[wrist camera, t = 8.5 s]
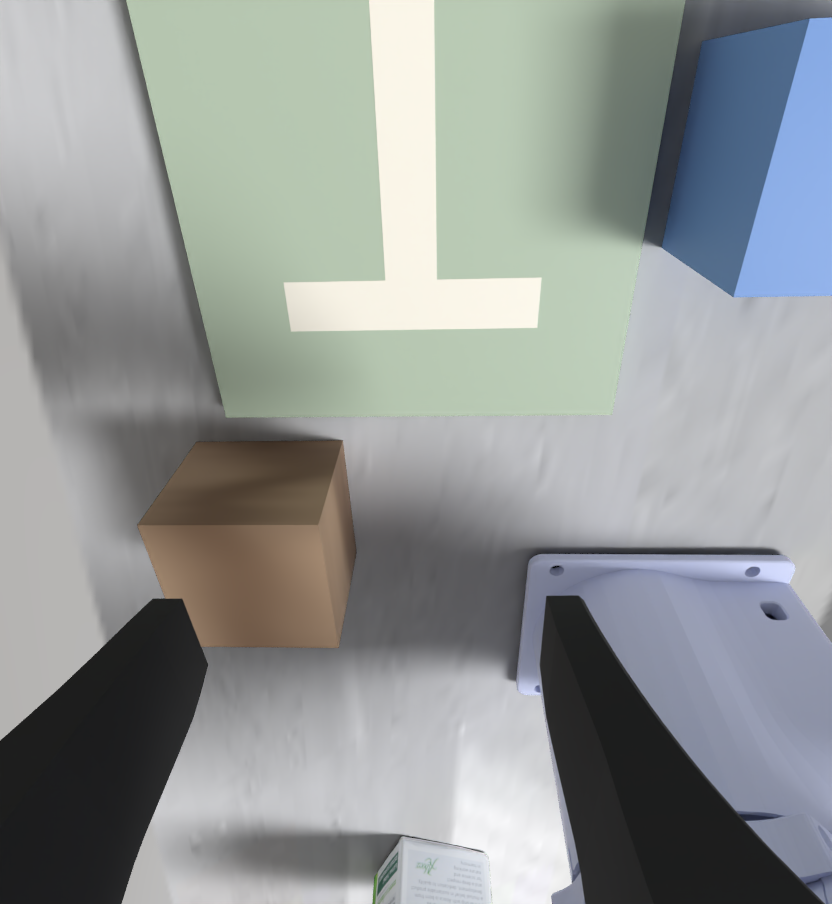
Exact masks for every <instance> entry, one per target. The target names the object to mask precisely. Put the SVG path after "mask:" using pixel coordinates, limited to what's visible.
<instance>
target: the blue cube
mask: <svg viewBox="0 0 832 904" xmlns="http://www.w3.org/2000/svg"><path fill="white" fill-rule="evenodd" d="M662 248H663V249H664V250H666V251H667V252H669V253H670V254H672V255H673V256H674V257H676V258H677V259H679V260H680V261H682V262H683V263H685V264H686V265H687V266H689V267H690V268H692V269H693V270H695V271H696V272H698V273H699V274H701V275H702V276H703V277H705V278H706V279H708V280H709V281H711V282H712V283H714V284H715V285H717V286H718V287H719V288H721V289H722V290H724V291H725V292H727V293H728V294H730V295H731V296H732V297H778V296H832V18H810V19H805V20H800V21H796V22H791V23H786V24H782V25H777V26H772V27H767V28H763V29H758V30H753V31H749V32H744V33H739V34H734V35H730V36H725V37H720V38H716V39H711V40H706V41H702V45H701V50H700V55H699V61H698V66H697V71H696V76H695V81H694V86H693V91H692V96H691V101H690V106H689V111H688V116H687V122H686V127H685V132H684V137H683V142H682V147H681V152H680V157H679V162H678V167H677V172H676V177H675V183H674V188H673V193H672V198H671V203H670V208H669V213H668V218H667V223H666V228H665V233H664V238H663V244H662Z"/></svg>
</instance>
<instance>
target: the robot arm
mask: <svg viewBox="0 0 832 904" xmlns="http://www.w3.org/2000/svg"><path fill="white" fill-rule="evenodd" d="M556 565H559V566H560V567H558V568H552V567H553V566H556ZM750 567H752V568H750ZM748 568H750V569H748ZM794 572H795V566H794V564H793V562H792V561H791V560H790V558H788V557H787V556H783V555H663V554H539V555H536V556H534V557H532V558H531V559H530V560H529V563H528V571H527V581H526V590H525V600H524V610H523V619H522V629H521V639H520V648H519V658H518V668H517V677H516V685H517V690H518V691H519V692H520V693H522V694H524V695H541V697H542V703H543V709H544V716H545V722H546V728H547V734H548V740H549V746H550V752H551V758H552V764H553V770H554V776H555V782H556V789H557V795H558V801H559V807H560V813H561V819H562V825H563V831H564V837H565V843H566V849H567V855H568V861H569V868H570V874H571V880H572V884H571V885H569V886H568V887H566V888H564V889H563V890H560V891H558V892H555V893H553V894H552V896H551V899H552V904H832V643H831V642H830V640H829V639H828V638H827V636H826V635H825V633H824V632H823V631H822V629H821V628H820V626H819V625H818V623H817V622H816V621H815V619H814V618H813V616H812V615H811V614H810V612H809V611H808V609H807V608H806V607H805V605H804V604H803V602H802V601H801V600H800V598H799V597H798V595H797V594H796V593H795V591H794V590H793V588H792V587H791V585H790V584H789V583H790V581H791V578H792V576H793V574H794ZM207 667H208V663H207V661H206V658H205V656H204V653H203V650H202V648H201V645H200V643H199V640H198V638H197V635H196V632H195V630H194V627H193V625H192V622H191V620H190V617H189V614H188V612H187V609H186V607H185V604H184V602H183V599H152V600H151V601H150V602H149V603H148V604H147V605H146V606H145V607H144V608H143V609H142V610H140V611H139V612H138V613H137V614H136V615H135V616H134V617H133V618H132V619H131V620H130V621H129V622H128V623H127V624H126V625H125V626H124V627H123V628H122V629H121V630H120V631H119V632H118V633H117V634H116V635H115V636H114V637H113V638H112V639H111V640H109V641H108V642H107V643H106V644H105V645H104V646H103V647H102V648H101V649H100V650H99V651H98V652H97V653H96V654H95V655H94V656H93V657H92V658H91V659H90V660H89V661H88V662H87V663H86V664H85V665H83V666H82V667H81V668H80V669H79V670H78V671H77V672H76V673H75V674H74V675H73V676H72V677H71V678H70V679H69V680H68V681H67V682H66V683H64V685H62V686H61V687H60V688H59V689H58V690H57V691H56V692H55V693H54V694H53V695H51V696H50V697H49V698H48V699H47V700H46V701H45V702H43V703H42V704H41V705H40V706H39V707H38V708H37V709H36V710H34V711H33V712H32V713H31V714H30V715H29V716H28V717H27V718H26V719H24V720H23V721H22V722H21V723H20V724H19V725H18V726H16V727H15V728H14V729H13V730H12V731H11V732H10V733H9V734H8V735H6V736H5V737H4V738H3V739H2V740H1V741H0V904H121V903H122V900H123V897H124V894H125V891H126V887H127V884H128V881H129V878H130V875H131V872H132V869H133V865H134V862H135V860H136V857H137V854H138V852H139V849H140V846H141V844H142V841H143V838H144V836H145V833H146V831H147V829H148V826H149V824H150V821H151V819H152V817H153V814H154V812H155V809H156V807H157V805H158V802H159V800H160V797H161V795H162V793H163V790H164V788H165V785H166V783H167V781H168V778H169V776H170V773H171V771H172V769H173V766H174V764H175V761H176V759H177V757H178V754H179V752H180V749H181V747H182V744H183V742H184V739H185V737H186V734H187V732H188V730H189V727H190V724H191V722H192V719H193V717H194V714H195V710H196V707H197V704H198V700H199V697H200V693H201V690H202V686H203V682H204V678H205V675H206V671H207Z"/></svg>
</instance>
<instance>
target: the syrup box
mask: <svg viewBox="0 0 832 904" xmlns="http://www.w3.org/2000/svg"><path fill="white" fill-rule="evenodd" d="M373 904H492V894H491V881H490V868H489V858H488V856H487V855H486V854H484V853H482V852H478V851H474V850H471V849H467V848H463V847H458V846H454V845H449V844H444V843H438V842H433V841H427V840H422V839H416V838H409V837H404V836H403V837H401V838H400V840H399V843H398V844H397V846H396V847H395V848H394V850H393V851H392V852H391V853H390V855H389V856H388V858H387V859H386V861H385V862H384V863H383V865H382V866H381V868H380V869H379V871H378V873H377V874H376V875H375V877H374V890H373Z"/></svg>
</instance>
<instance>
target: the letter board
mask: <svg viewBox="0 0 832 904" xmlns="http://www.w3.org/2000/svg"><path fill="white" fill-rule="evenodd" d="M685 1H686V0H126V2H127V6H128V10H129V14H130V19H131V23H132V27H133V31H134V35H135V39H136V44H137V48H138V52H139V56H140V60H141V64H142V69H143V73H144V77H145V81H146V85H147V90H148V94H149V98H150V102H151V106H152V110H153V115H154V119H155V123H156V127H157V131H158V135H159V140H160V144H161V148H162V152H163V156H164V161H165V165H166V169H167V173H168V177H169V181H170V186H171V190H172V194H173V198H174V202H175V206H176V211H177V215H178V219H179V223H180V227H181V232H182V236H183V240H184V244H185V248H186V252H187V257H188V261H189V265H190V269H191V273H192V277H193V282H194V286H195V290H196V294H197V298H198V303H199V307H200V311H201V315H202V319H203V323H204V328H205V332H206V336H207V340H208V344H209V348H210V353H211V357H212V361H213V365H214V369H215V373H216V378H217V382H218V386H219V390H220V394H221V399H222V403H223V407H224V411H225V415H226V418H251V417H390V416H529V415H612V413H613V407H614V401H615V396H616V390H617V384H618V379H619V373H620V367H621V362H622V356H623V350H624V345H625V339H626V334H627V328H628V322H629V317H630V311H631V305H632V300H633V294H634V288H635V283H636V277H637V271H638V266H639V260H640V255H641V249H642V243H643V238H644V232H645V226H646V221H647V215H648V209H649V204H650V198H651V192H652V187H653V181H654V176H655V170H656V164H657V159H658V153H659V147H660V142H661V136H662V130H663V125H664V119H665V113H666V108H667V102H668V97H669V91H670V85H671V80H672V74H673V68H674V63H675V57H676V51H677V46H678V40H679V34H680V29H681V23H682V18H683V12H684V6H685Z"/></svg>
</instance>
